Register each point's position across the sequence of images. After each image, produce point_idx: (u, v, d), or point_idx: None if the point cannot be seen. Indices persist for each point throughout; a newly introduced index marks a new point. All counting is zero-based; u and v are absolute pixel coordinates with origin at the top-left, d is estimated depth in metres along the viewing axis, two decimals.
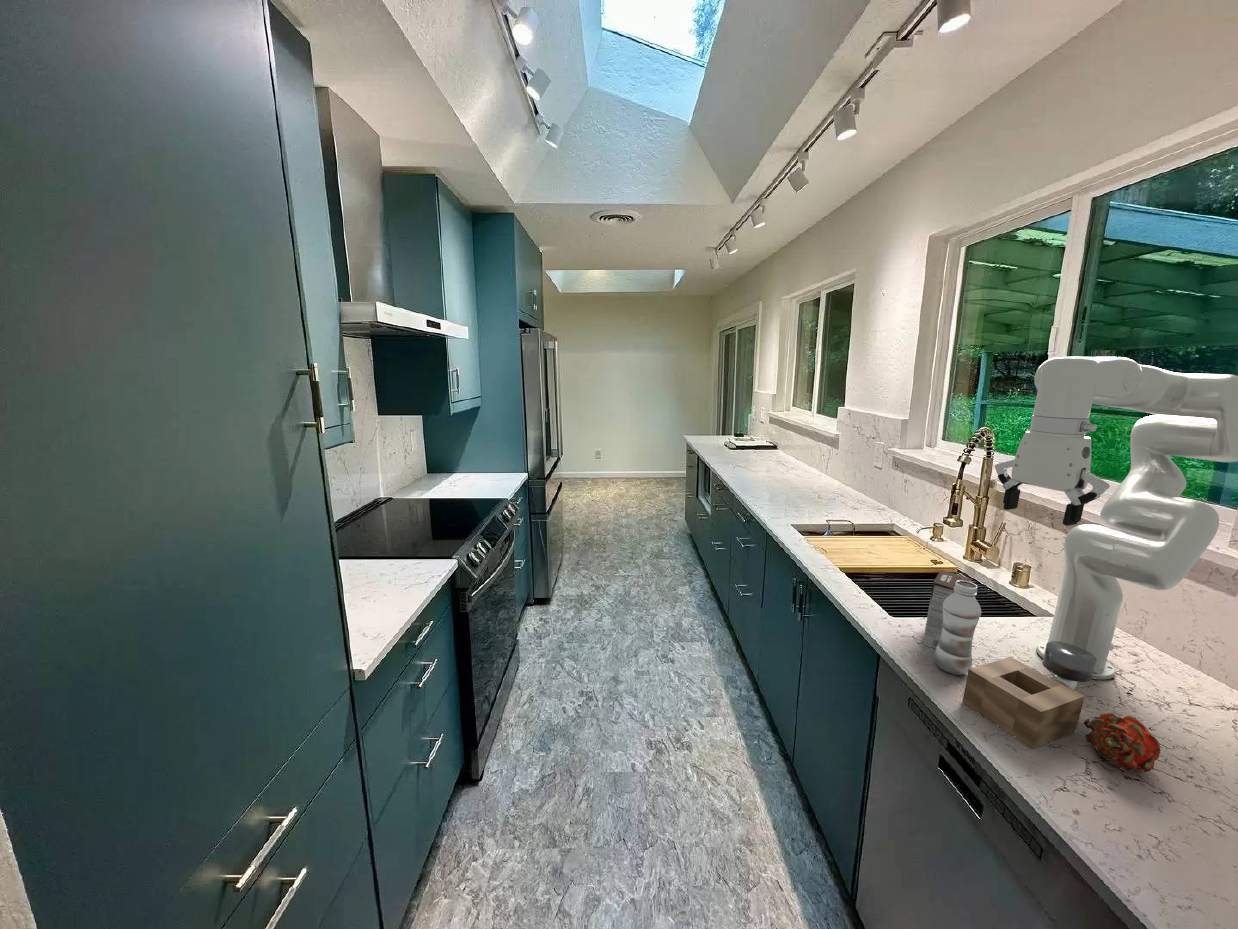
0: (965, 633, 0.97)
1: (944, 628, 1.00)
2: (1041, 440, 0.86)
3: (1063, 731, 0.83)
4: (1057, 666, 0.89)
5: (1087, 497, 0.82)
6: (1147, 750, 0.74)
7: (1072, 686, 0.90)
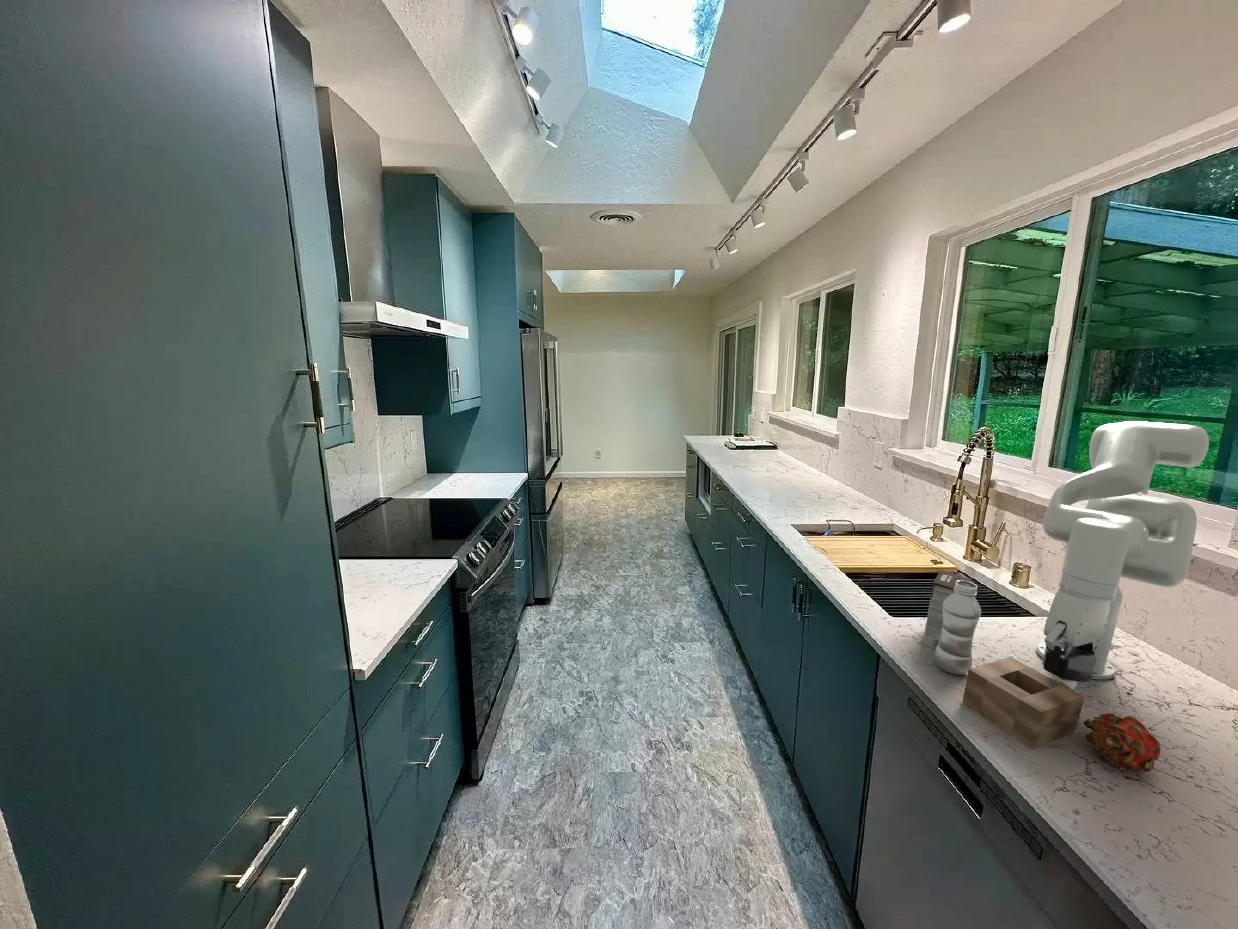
0: (965, 633, 0.97)
1: (944, 628, 1.00)
2: (1099, 604, 0.85)
3: (1063, 731, 0.83)
4: None
5: (1096, 640, 0.91)
6: (1147, 750, 0.74)
7: (1072, 686, 0.90)
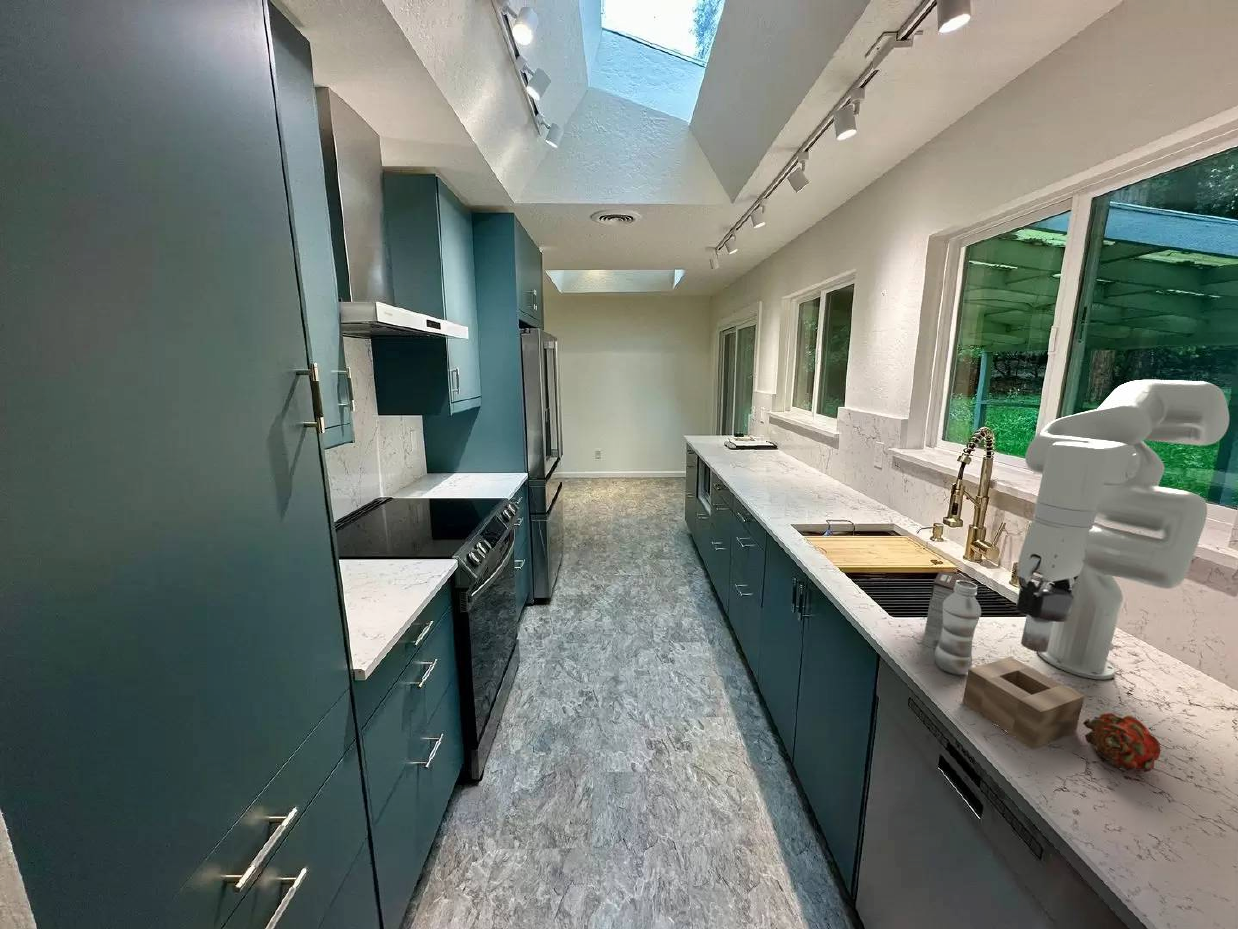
0: (965, 633, 0.97)
1: (944, 628, 1.00)
2: (1075, 534, 0.78)
3: (1063, 731, 0.83)
4: None
5: (1074, 578, 0.84)
6: (1147, 750, 0.74)
7: (1047, 628, 0.82)
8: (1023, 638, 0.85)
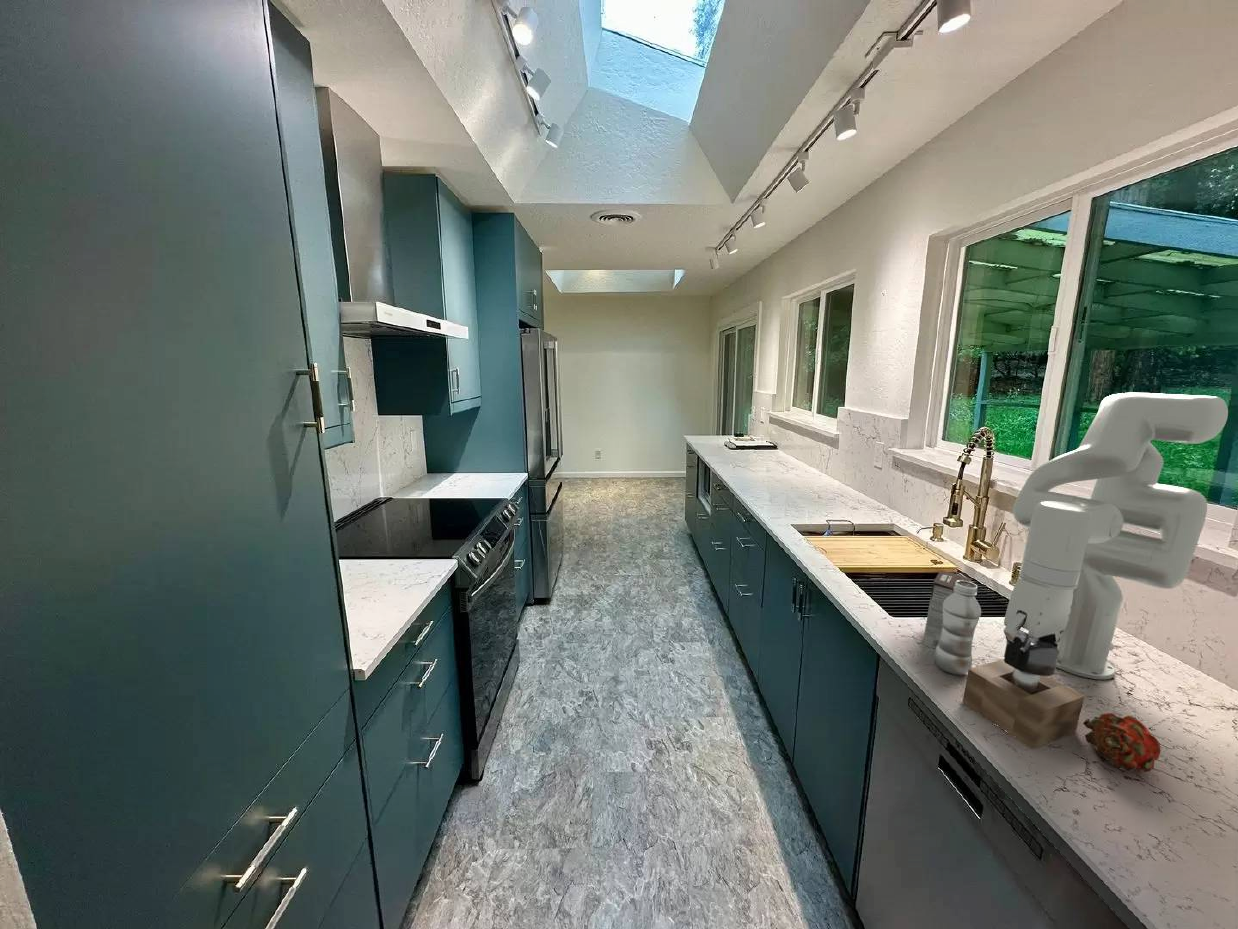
0: (965, 633, 0.97)
1: (944, 628, 1.00)
2: (1060, 592, 0.80)
3: (1063, 731, 0.83)
4: None
5: (1060, 632, 0.86)
6: (1147, 750, 0.74)
7: (1033, 680, 0.84)
8: None
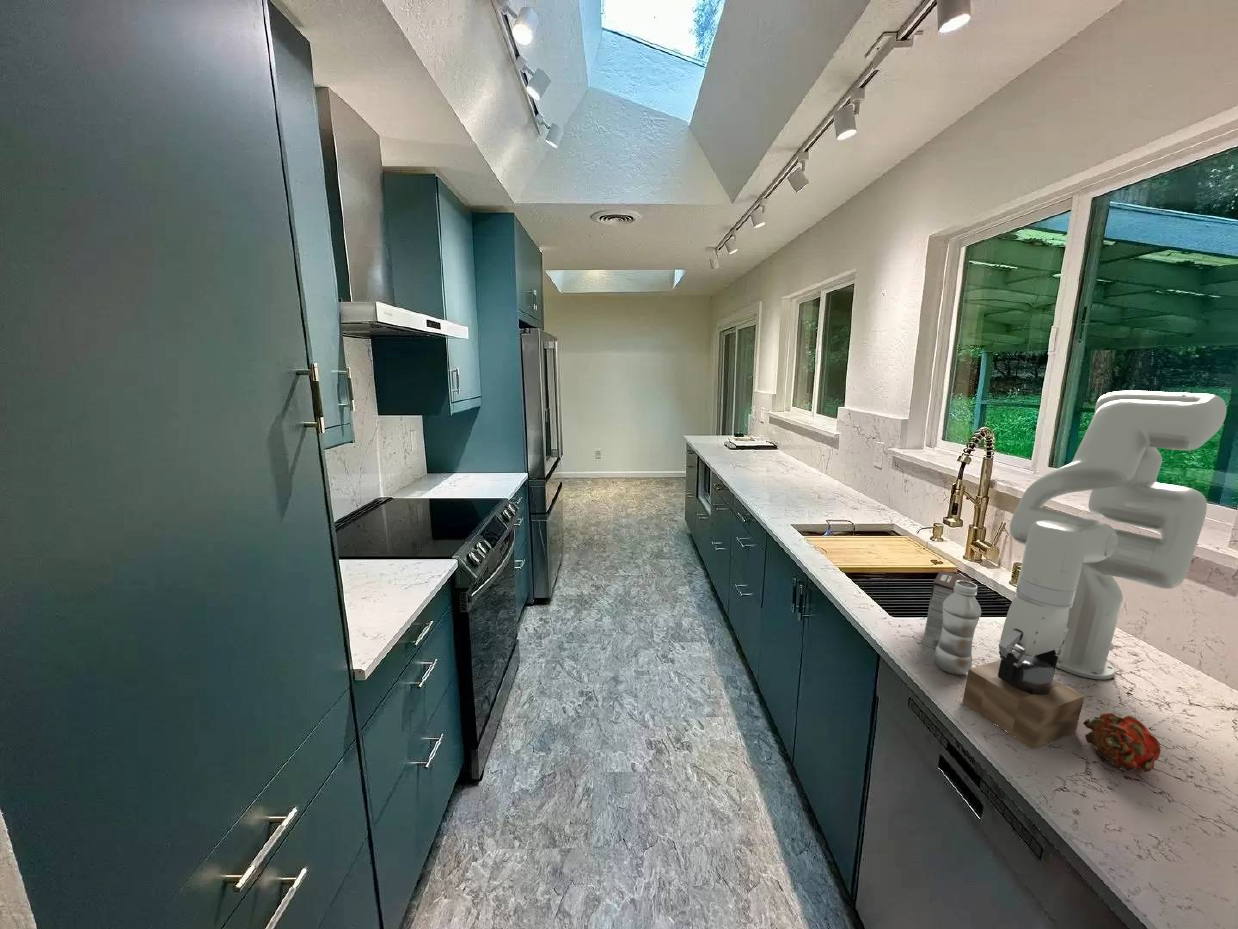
0: (965, 633, 0.97)
1: (944, 628, 1.00)
2: (1056, 611, 0.81)
3: (1063, 731, 0.83)
4: None
5: (1060, 644, 0.87)
6: (1147, 750, 0.74)
7: None
8: None
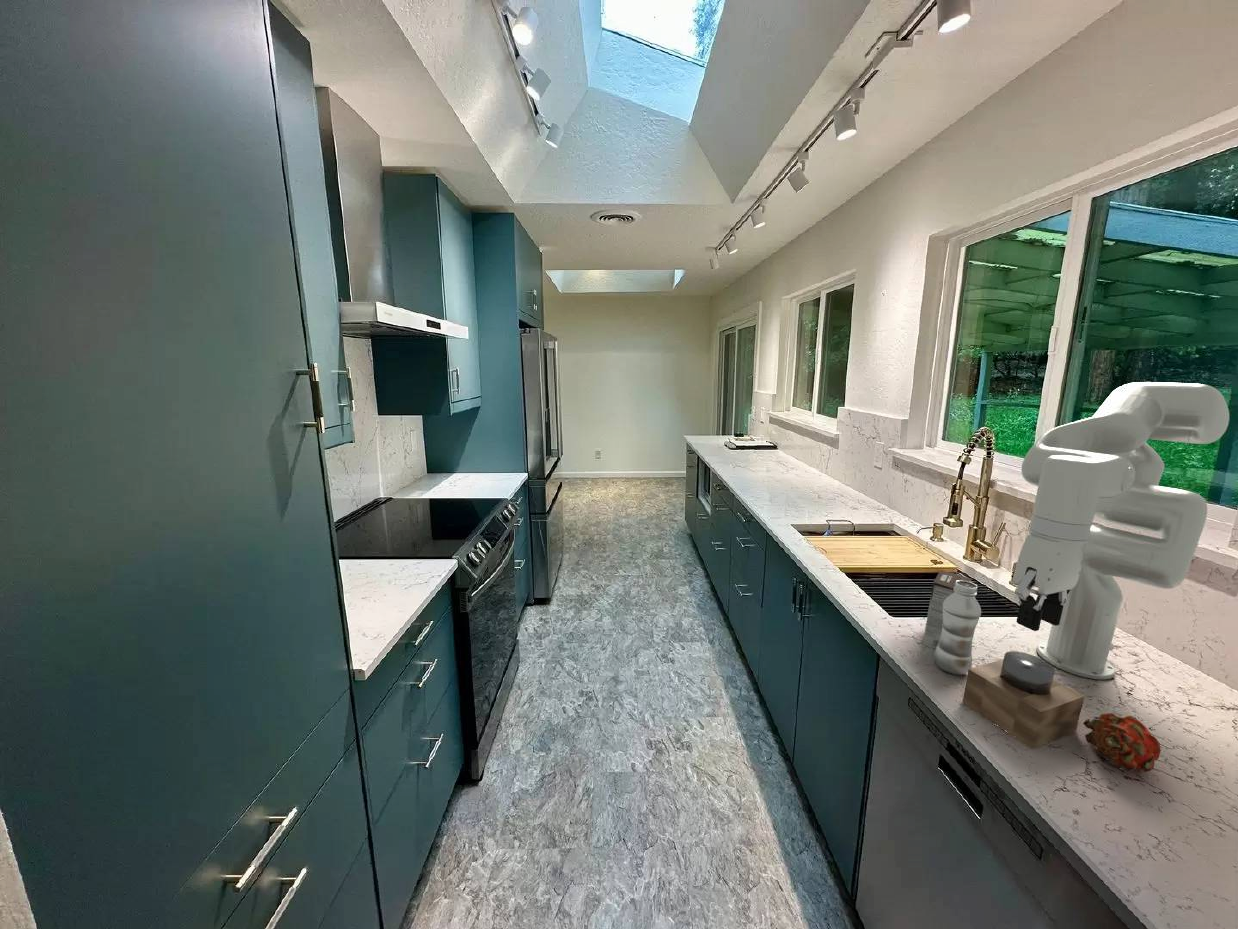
0: (965, 633, 0.97)
1: (944, 628, 1.00)
2: (1071, 547, 0.78)
3: (1063, 731, 0.83)
4: (1014, 677, 0.85)
5: None
6: (1147, 750, 0.74)
7: None
8: None
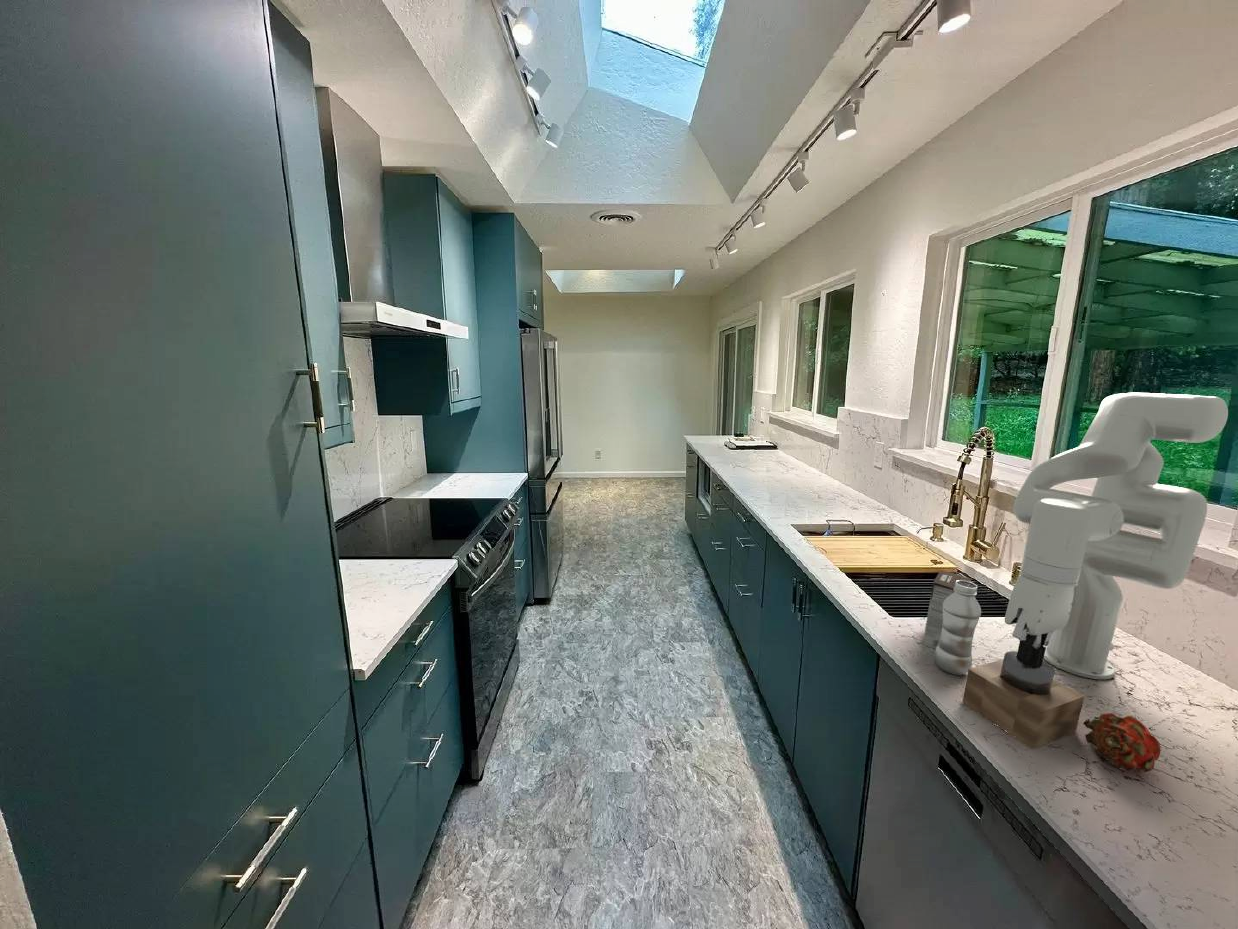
0: (965, 633, 0.97)
1: (944, 628, 1.00)
2: (1061, 590, 0.80)
3: (1063, 731, 0.83)
4: (1014, 677, 0.85)
5: None
6: (1147, 750, 0.74)
7: None
8: None
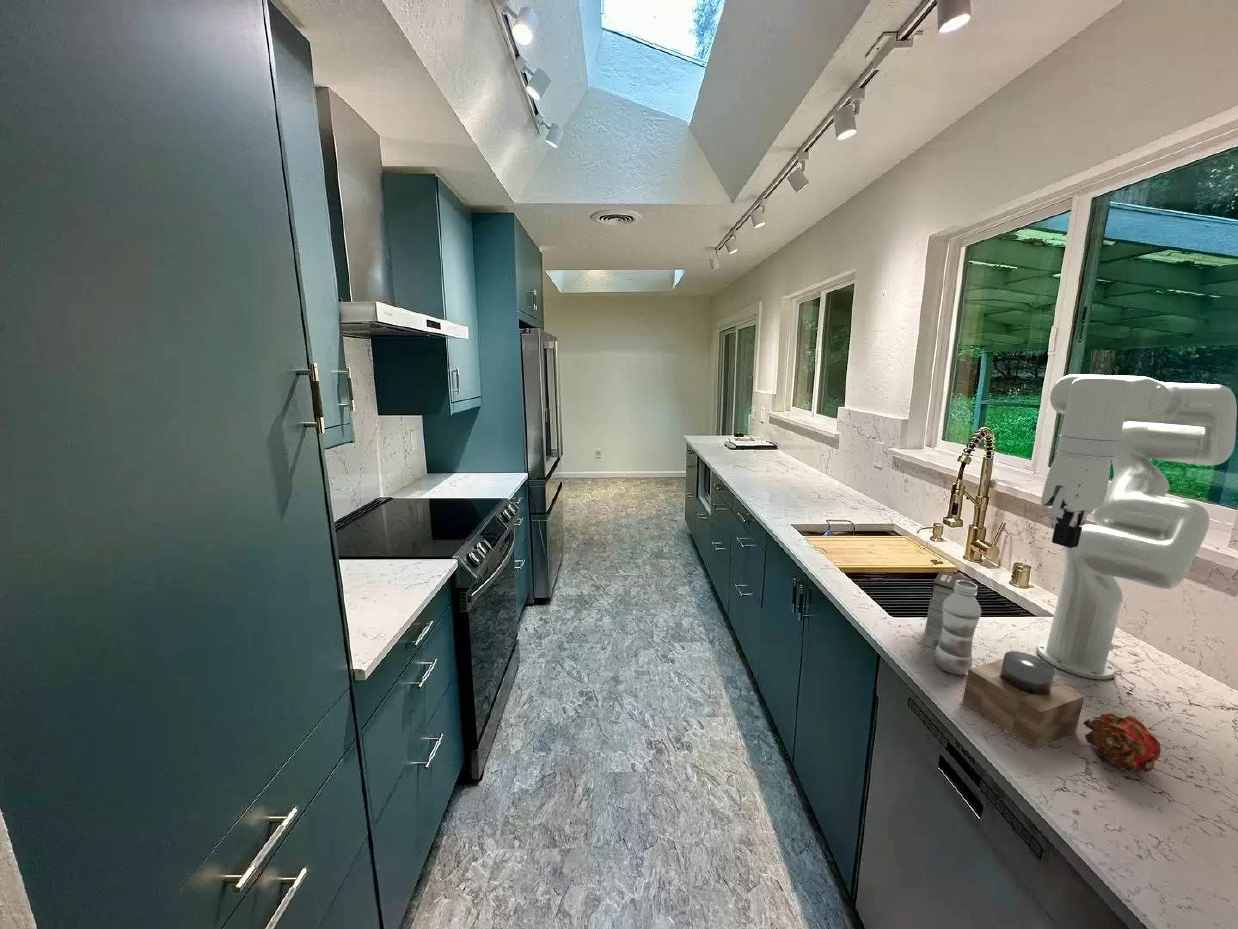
0: (965, 633, 0.97)
1: (944, 628, 1.00)
2: (1098, 464, 0.81)
3: (1063, 731, 0.83)
4: (1014, 677, 0.85)
5: None
6: (1147, 750, 0.74)
7: None
8: None
